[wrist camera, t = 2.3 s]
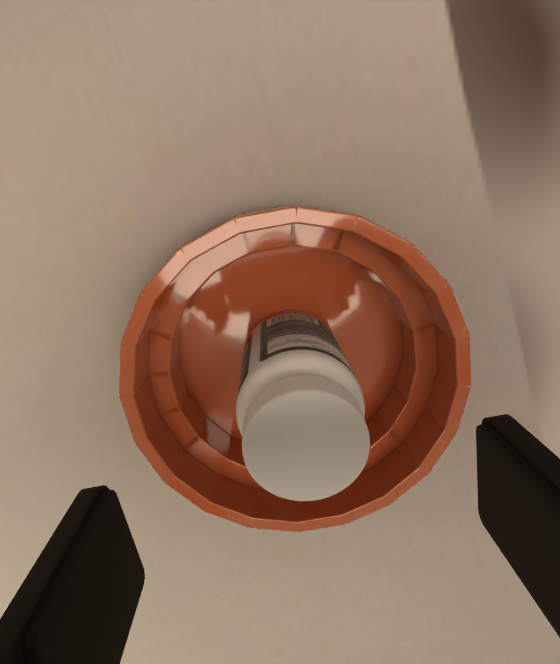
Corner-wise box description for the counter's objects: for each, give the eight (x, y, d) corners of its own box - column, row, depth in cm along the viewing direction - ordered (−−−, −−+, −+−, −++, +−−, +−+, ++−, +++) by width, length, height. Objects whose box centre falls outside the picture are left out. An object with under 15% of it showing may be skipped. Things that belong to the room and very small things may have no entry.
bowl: (419, 180, 19) (464, 174, 14) (437, 447, 23) (475, 503, 19) (114, 236, 19) (69, 247, 15) (188, 488, 23) (170, 553, 19)
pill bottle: (293, 414, 22) (308, 538, 14) (224, 358, 21) (197, 458, 13) (357, 351, 21) (414, 445, 13) (289, 289, 20) (304, 350, 12)
